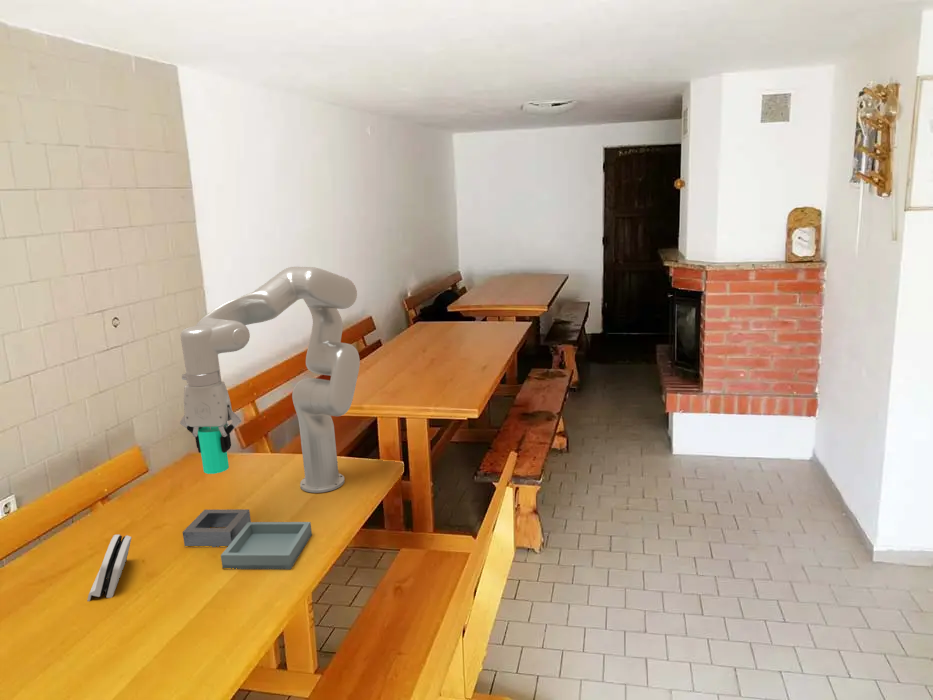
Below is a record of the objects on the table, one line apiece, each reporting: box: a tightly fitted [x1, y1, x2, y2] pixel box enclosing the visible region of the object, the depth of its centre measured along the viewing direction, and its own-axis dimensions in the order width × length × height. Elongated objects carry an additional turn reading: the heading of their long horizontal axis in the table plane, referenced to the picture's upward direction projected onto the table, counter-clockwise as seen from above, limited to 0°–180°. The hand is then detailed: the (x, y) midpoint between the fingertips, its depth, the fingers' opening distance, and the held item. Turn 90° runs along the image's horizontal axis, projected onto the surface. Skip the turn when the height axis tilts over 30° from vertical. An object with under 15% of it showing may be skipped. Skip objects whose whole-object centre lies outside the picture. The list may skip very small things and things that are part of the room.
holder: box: [182, 508, 252, 548], centre depth 179 cm, size 12×12×4 cm
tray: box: [220, 521, 313, 570], centre depth 169 cm, size 16×16×4 cm
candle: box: [198, 427, 230, 475], centre depth 172 cm, size 6×6×12 cm
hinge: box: [87, 534, 132, 602], centre depth 160 cm, size 17×5×10 cm, turn 15°
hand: (214, 449), depth 172 cm, fingers closed on candle, 5 cm apart
